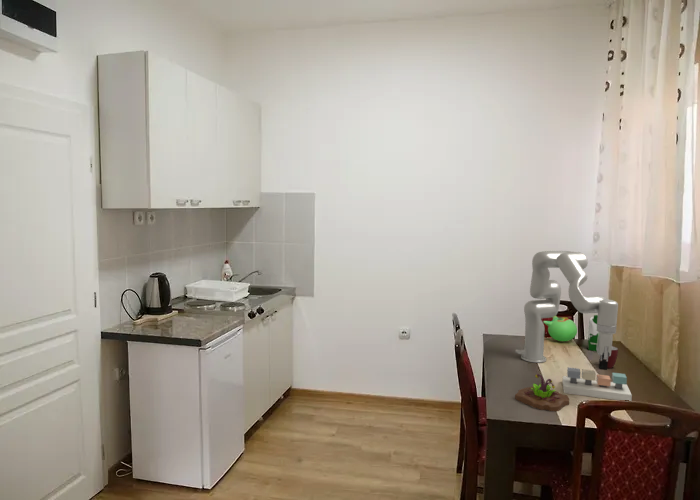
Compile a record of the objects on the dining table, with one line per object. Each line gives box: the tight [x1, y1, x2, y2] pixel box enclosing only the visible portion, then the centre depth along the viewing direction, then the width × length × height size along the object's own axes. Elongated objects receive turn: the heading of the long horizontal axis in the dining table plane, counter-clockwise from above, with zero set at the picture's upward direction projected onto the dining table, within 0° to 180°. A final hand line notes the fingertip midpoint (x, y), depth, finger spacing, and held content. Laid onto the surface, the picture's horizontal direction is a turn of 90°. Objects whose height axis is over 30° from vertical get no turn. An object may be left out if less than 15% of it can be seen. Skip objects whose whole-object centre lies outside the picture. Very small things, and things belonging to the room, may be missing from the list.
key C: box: [595, 373, 612, 388], centre depth 218 cm, size 5×5×6 cm
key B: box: [581, 368, 597, 385], centre depth 220 cm, size 5×5×6 cm
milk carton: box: [587, 314, 598, 352], centre depth 281 cm, size 9×9×20 cm
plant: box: [514, 373, 570, 412], centre depth 209 cm, size 20×20×11 cm
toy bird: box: [542, 315, 578, 342], centre depth 299 cm, size 18×17×15 cm
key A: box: [566, 366, 581, 384], centre depth 222 cm, size 5×5×6 cm
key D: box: [611, 372, 628, 389], centre depth 215 cm, size 5×5×6 cm
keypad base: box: [562, 375, 633, 402], centre depth 219 cm, size 26×14×3 cm, turn 69°
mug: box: [607, 345, 619, 369], centre depth 251 cm, size 10×8×10 cm
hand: (602, 368), depth 218 cm, fingers closed
